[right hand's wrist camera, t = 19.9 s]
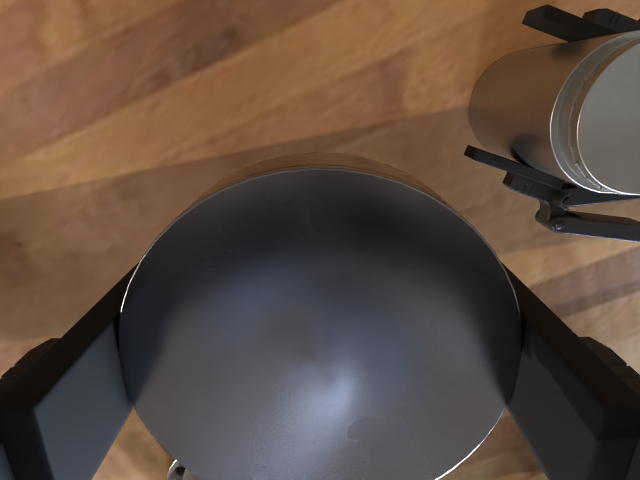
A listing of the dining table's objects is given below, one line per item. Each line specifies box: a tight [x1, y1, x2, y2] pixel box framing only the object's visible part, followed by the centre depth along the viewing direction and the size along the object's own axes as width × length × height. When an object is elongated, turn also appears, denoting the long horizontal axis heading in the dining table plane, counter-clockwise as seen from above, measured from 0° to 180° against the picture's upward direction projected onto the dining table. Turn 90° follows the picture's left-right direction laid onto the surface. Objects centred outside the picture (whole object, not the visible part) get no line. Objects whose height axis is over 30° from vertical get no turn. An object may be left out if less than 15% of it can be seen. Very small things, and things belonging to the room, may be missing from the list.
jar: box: [469, 30, 640, 196], centre depth 28 cm, size 8×8×15 cm
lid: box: [118, 153, 523, 480], centre depth 11 cm, size 10×10×2 cm
